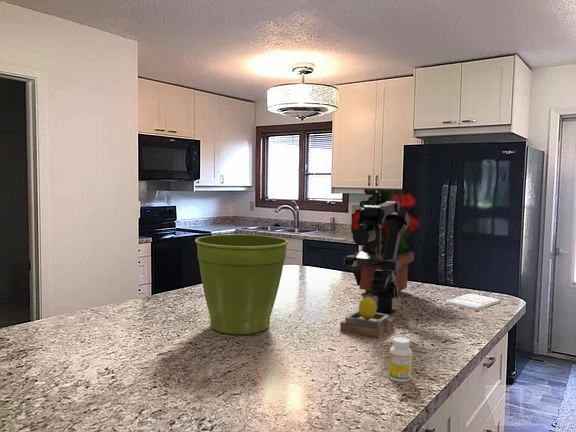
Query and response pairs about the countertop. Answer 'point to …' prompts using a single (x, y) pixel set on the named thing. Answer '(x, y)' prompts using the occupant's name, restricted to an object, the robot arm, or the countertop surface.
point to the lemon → (367, 308)
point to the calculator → (473, 301)
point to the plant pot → (240, 279)
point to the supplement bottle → (400, 360)
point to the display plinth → (367, 325)
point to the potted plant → (402, 254)
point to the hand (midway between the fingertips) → (371, 287)
